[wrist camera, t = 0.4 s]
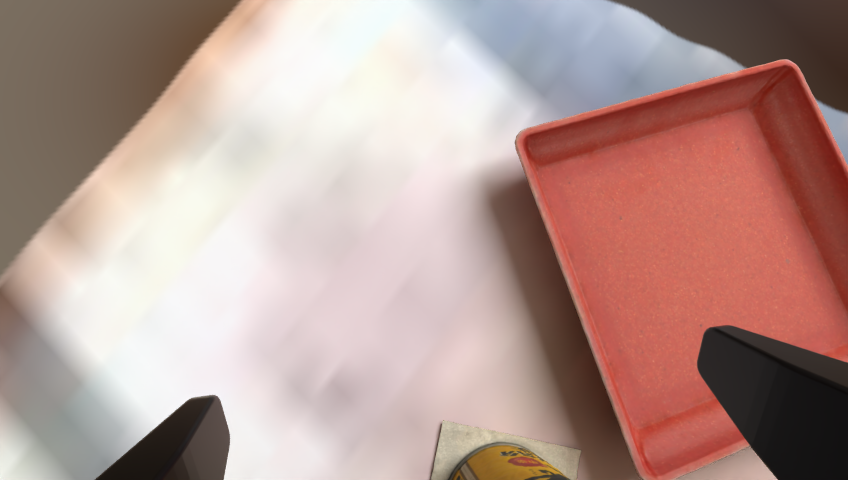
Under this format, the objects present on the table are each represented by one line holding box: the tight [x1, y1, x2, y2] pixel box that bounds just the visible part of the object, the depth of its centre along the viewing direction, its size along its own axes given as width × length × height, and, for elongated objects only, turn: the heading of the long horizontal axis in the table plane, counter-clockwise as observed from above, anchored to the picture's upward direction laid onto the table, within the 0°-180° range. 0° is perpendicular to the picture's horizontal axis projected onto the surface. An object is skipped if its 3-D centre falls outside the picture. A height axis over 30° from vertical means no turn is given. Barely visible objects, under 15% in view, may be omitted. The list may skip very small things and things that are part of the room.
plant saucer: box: [515, 60, 848, 480], centre depth 24 cm, size 18×18×3 cm
